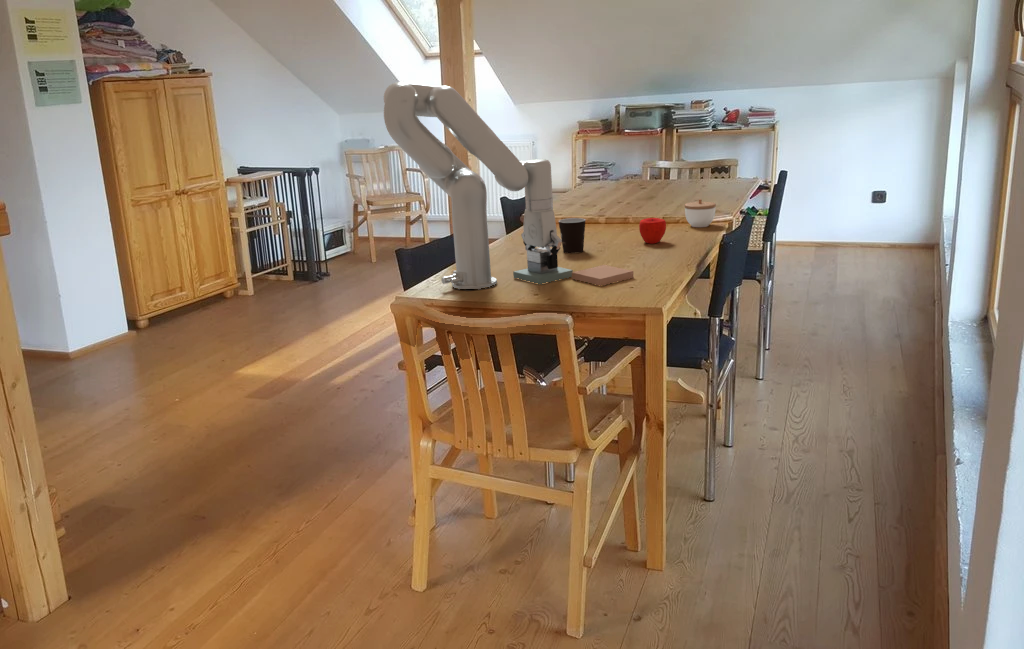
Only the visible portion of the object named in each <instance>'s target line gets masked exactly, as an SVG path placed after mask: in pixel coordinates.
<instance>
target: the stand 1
mask: <svg viewBox="0 0 1024 649" xmlns="http://www.w3.org/2000/svg"><path fill="white" fill-rule="evenodd" d="M512 272H513V273H512V274H513V279H514V278H519V279H522V280H526V281H530V282H534V283H538V284H541V285H543V284H542V283H546V282H550V283H552V282H551V281H554V282H556V281H555V280H558V281H560V280H559V279H563V280H565V279H564V278H567V279H570V278H569V277H571V278H572V272H574V270H573V269H570V268H566V267H561V266H558V270H557V271H553V272H549V273H544V274H537V273H533V272H529V271H528V267H527V268H524V269H519V270H514V271H512ZM522 280H521V281H522ZM526 281H525V282H526ZM530 282H529V283H530ZM546 284H547V283H546Z"/></svg>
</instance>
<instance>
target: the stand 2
mask: <svg viewBox="0 0 1024 649" xmlns="http://www.w3.org/2000/svg"><path fill="white" fill-rule="evenodd" d="M630 278H632V279H634V270H631V269H627V268H620V267H616V266H612V265H611V266H610V265H607V264H602V265H598V266H595V267H594V266H593V267H590V268H585V269H581V270H575V271H573V272H572V277H571V280H572V279H575V280H574V281H577V280H580V281H579V282H581V281H584V282H583V283H585V282H588V283H587V284H589V283H592V284H591V285H593V284H596V285H595V286H597V285H600V286H599V287H602V286H601V285H604V286H606V284H608V285H611V284H610V283H612V284H614V283H613V282H616V283H618V282H617V281H620V282H623V281H622V280H624V281H627V280H626V279H628V280H630Z"/></svg>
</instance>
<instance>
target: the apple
mask: <svg viewBox="0 0 1024 649" xmlns="http://www.w3.org/2000/svg"><path fill="white" fill-rule="evenodd" d="M638 228H639V233H640V236H641V238H642V240H643V242H644V243H646V244H657V243H659V242H660V241H661V240H662V239H663V237H664V235H665V233H666V230H667V222H666V220H665V219H663V218H661V217H660V218H659V217H648V218H647V217H646V218H643V219H640V221H639V225H638Z"/></svg>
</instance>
